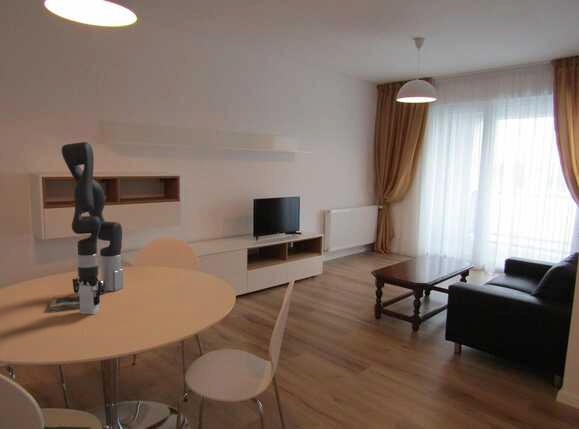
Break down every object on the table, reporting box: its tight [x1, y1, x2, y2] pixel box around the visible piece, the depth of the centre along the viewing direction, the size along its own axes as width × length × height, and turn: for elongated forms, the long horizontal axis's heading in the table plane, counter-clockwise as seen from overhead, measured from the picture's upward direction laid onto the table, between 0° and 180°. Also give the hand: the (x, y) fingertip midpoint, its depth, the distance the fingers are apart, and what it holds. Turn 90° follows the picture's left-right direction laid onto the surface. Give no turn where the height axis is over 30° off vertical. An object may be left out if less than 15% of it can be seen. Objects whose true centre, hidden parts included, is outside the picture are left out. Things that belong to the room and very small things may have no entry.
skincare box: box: [79, 284, 100, 315], centre depth 168 cm, size 6×4×12 cm
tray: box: [48, 294, 80, 313], centre depth 176 cm, size 13×13×2 cm
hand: (89, 303), depth 169 cm, fingers closed on skincare box, 6 cm apart
